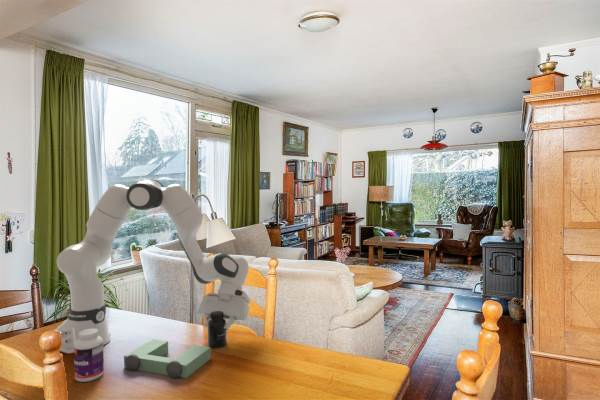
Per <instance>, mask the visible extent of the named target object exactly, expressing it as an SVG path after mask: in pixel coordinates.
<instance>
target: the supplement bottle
mask: <svg viewBox="0 0 600 400" xmlns="http://www.w3.org/2000/svg"><path fill="white" fill-rule="evenodd" d="M223 317H224V316H223V312H222V311H214V312H211V313H210V319H209V321H208V328H207V345H208V347H211V348H214V349H215V348H216V349H218V348H221V347H224V346H226V345H227V330H225V329H224V325H225V324H227V321H226V320H227V319H224V318H223Z"/></svg>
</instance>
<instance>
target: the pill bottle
mask: <svg viewBox="0 0 600 400" xmlns="http://www.w3.org/2000/svg"><path fill="white" fill-rule="evenodd" d="M98 334H99V333H98V329H86V330H83V331H80V332H79V333H78V338H79V339H78V340H77V341H76V342H75V343H74V353H73V358H74V359H73V363H74V365H73V366H74V368H73V369H74V379H75V380H76V381H77V382H79V383H80V382H81V383H83V382H84V383H87V382H92V381H95V380H97V379H99V378H100V377H101V376H103V374H104V372H105V371H104V370H105V365H104V364H105V363H104V361H105V360H104V345H103V339H102V337H100V336H98Z"/></svg>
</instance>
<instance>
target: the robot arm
mask: <svg viewBox="0 0 600 400" xmlns="http://www.w3.org/2000/svg"><path fill="white" fill-rule="evenodd" d="M160 207H161V208H163V210H164V211H165V212H166V213H167V215H168V216H169V218H170V220H171V221H172V223H173V225H174V227H175V229H176V230H175V231H176V232H177V234H176V235H177V239H178V240H179V243H180V245H181V247H182V249H183V251H184V253H185V255H186V257H187V259H188V261H189V262H190V265H191V268H192V269H191V270H192V272H193V276H194V278H195V279H196V281H198V282H199V283H200V284H203V285H207V284H211V283H213V282H214V281H218V280H219V281H220V286H219V288H218V290H217V293H211V292H209V293H207V294H205V295H204V296H203V298H202V300H201V302H200V303H199V305H198V306H197V308H196V309H197V313H198V315H199V316H200V317H204V321H205V322H204V325H203V326H204V328H206V329H208V321H209V320H210V313H211V312H214V311H222V312H223V316H224V317H223V319H225V320H228V322H226V324H225V325H224V329H225V330H226V331H229V330H230V328H231V326H232V325H233V324H234V323H235V321H245V320H246V319H247V318H248V315H249V311H250V305H249V304H251V299H250V297H249V295H248V294H247V293H246V291H244V290H243V286H244V284H245V282H246V280H247V276H248V273H249V262H248V261H247V260H246V259H245V258H243V256H232V255H229V254H227V253H225V252H219V253H216V254H213V255H211V256H209V257H208V256H205V254H204V253H203V251H202V249H201V246H200V244H199V243H198V240H197V233H198V231H199V229H200V228H201V225H202V223H203V213H202V211H201V209H200V208H199V206H198V204H197V203H196V201H195V200H194V198H193V197H192V196H191V194H190V193H189V192H188V191H187V189H186V188H184V187H183V186H182V185H181V184H179V183H173V184H172V183H171V184H169V185H167V186H165V187H164V185H163V184H162V183H161V182H159V181H158V180H157V179H152V178H151V179H141V180H140V181H136V182H134V183H132V184H131V185H130V186H129V187H128V186H126V185H124V184H119V183H118V184H117V183H116V184H112V185H111V186H109V187H108V188H107V189H106V191H105V192H104V193H103V194H102V195H101V197H100V199H99V200H98V201H97V204H96V205H95V207H94V209H93V211H92V213H91V215H90V216H89V218H88V220H87V222H86V224H85V225H86V233H85V236H84V238H83V240H82V241H81V242H78V243H76V244H72V245H69V246H67V247H66V248H65V249H64V250H61V251H60V253H59V254H58V255H57V257H56V267H57V269H58V270H59V271H60V272H61V273H62V274H63V275H64V276H65V278H66V281H67V283H68V286H69V292H70V306H71V308H69V309H67V310H65V314H68V315H67V319H65V320H64V321H62V322H61V324H60V325H58V326H57V327H56V328H55V330H58V331H59V332H60V334H61V337H62V346H61V349H60V352H62V353H65V354H74V343H75V342H76V341H77V340H78V339H79V338H78V333H79V332H80V331H83V330H86V329H98V333H99V334H98V336H100V337H102V339H103V346H104V345H106V344H108V343H109V342H111V337H110V336H111V332H110V331H109V324H108V320H107V318H108V317H107V316H106V314H107V306H106V303H105V290H104V289H105V288H104V287H105V285H104V283H103V282H102V281H101V280H100V278H99V276H98V271H97V268H99V267H102V266H103V265H105V264H106V263H107V261H109V259H111V257H112V253H113V250H112V248H113V245H114V241H115V239H116V236H117V234H118V232H119V230H120V228H121V227H122V226H123V224H124V221H125V220H126V218H127V216H128V214H129V212H130V211H131V209H132V208H133V209H135V210H137V211H149V210H152V209H156V208H160Z"/></svg>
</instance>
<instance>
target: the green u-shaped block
mask: <svg viewBox="0 0 600 400" xmlns="http://www.w3.org/2000/svg"><path fill="white" fill-rule="evenodd" d="M211 349H212V347H210V346H205V345H204V346H203V345H198V344H197V345H196V344H193V345H191V346H190V347H189V348H188V349H186V350H185V351H184V352H182V353H181V354H179V355H178V356H176V357H175V358H171V357H165V355H167V354H168V353H169V341H168V340H162V339H153V338H152V339H151V340H149V341H148V342H145V343H144V344H143V345H141V346H139V347H137V348H136V349H133V350H132V351H130V352H129V353H126V354H125V355H123V368H124V369H127V370H128V371H130V372H134V371H141V372H147V373H151V374H152V373H153V374H158V375H165V376H168V377H170V378H172V379H177V378H183V379H188V377H190V376H191V375H192V374H194V373H195V372H196V371H198V370H199V369H200V368H201V367H202V366H204V365H205V364H206V363H207V362H209V361H210V360H212V352H211V351H212V350H211Z"/></svg>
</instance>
